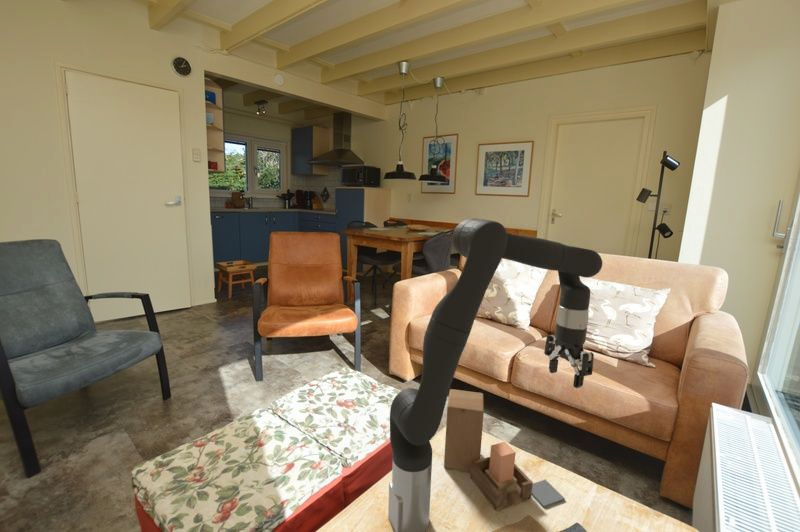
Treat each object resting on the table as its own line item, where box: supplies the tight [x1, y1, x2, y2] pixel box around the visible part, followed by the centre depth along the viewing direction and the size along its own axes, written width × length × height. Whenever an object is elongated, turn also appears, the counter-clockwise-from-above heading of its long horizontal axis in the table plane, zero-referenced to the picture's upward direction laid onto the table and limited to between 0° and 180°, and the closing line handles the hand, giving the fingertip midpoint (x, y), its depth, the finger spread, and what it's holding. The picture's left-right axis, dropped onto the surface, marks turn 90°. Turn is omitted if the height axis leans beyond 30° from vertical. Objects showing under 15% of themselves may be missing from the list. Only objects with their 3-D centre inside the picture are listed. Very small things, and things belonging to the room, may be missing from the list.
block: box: [489, 441, 516, 483], centre depth 101 cm, size 4×4×8 cm
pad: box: [531, 479, 566, 509], centre depth 101 cm, size 7×7×1 cm
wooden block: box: [443, 388, 485, 474], centre depth 111 cm, size 10×10×20 cm
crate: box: [470, 456, 534, 512], centre depth 102 cm, size 11×12×5 cm
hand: (564, 379), depth 103 cm, fingers open, 8 cm apart
